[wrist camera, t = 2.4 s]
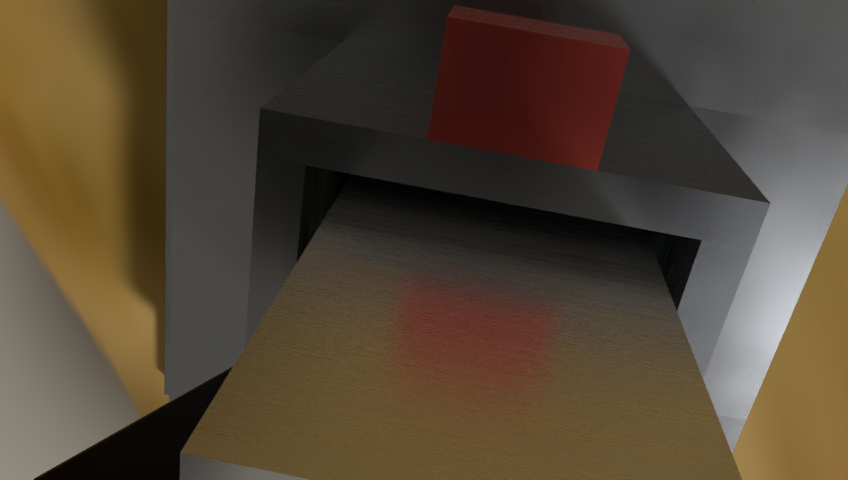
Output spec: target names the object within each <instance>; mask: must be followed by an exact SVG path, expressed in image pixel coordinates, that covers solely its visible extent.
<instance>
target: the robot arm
mask: <svg viewBox="0 0 848 480" xmlns="http://www.w3.org/2000/svg"><path fill="white" fill-rule="evenodd" d="M232 368H233V366H232V367H231V368H229V369H227V370H225V371H224V372H222V373H220V374H218V375H217V376H215V377H213V378H211V379H209V380H208V381H206V382H204V383H202V384H201V385H199V386H197V387H195V388H194V389H192V390H190V391H188V392H186V393H185V394H183V395H181V396H179V397H178V398H176V399H174V400H172V401H171V402H169V403H167V404H165V405H163V406H162V407H160V408H158V409H156V410H155V411H153V412H151V413H149V414H148V415H146V416H144V417H142V418H141V419H139V420H137V421H135V422H134V423H132V424H130V425H129V426H126V427H125V428H123V429H121V430H119V431H118V432H116V433H114V434H112V435H110V436H109V437H107V438H105V439H103V440H102V441H100V442H98V443H96V444H95V445H93V446H91V447H89V448H87V449H86V450H84V451H82V452H81V453H79V454H77V455H75V456H73V457H72V458H70V459H68V460H67V461H65V462H63V463H61V464H59V465H57V466H56V467H54V468H52V469H50V470H49V471H47V472H45V473H43V474H42V475H40V476H38V477H37V478H35V479H34V480H180V452H181V451H182V449H183V447H184V446H185V444H186V442H187V441H188V439H189V438H190V436H191V434H192V433H193V431H194V429H195V428H196V426H197V425H198V423H199V421H200V420H201V418H202V416H203V415H204V413H205V412H206V410H207V408H208V407H209V405H210V403H211V402H212V400H213V399H214V397H215V395H216V394H217V392H218V390H219V389H220V387H221V386H222V384H223V382H224V381H225V379H226V377H227V376H228V374H229V372H230V371H231V369H232Z"/></svg>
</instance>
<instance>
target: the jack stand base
mask: <svg viewBox="0 0 848 480" xmlns="http://www.w3.org/2000/svg"><path fill="white" fill-rule="evenodd" d="M351 174H354V175H359V176H365V177H370V178H375V179H381V180H386V181H391V182H396V183H402V184H407V185H412V186H418V187H423V188H428V189H434V190H439V191H444V192H449V193H455V194H460V195H465V196H471V197H476V198H481V199H486V200H492V201H497V202H502V203H508V204H513V205H518V206H524V207H529V208H534V209H539V210H545V211H550V212H555V213H561V214H566V215H571V216H576V217H582V218H587V219H592V220H598V221H603V222H608V223H613V224H619V225H624V226H629V227H635V228H640V229H645V230H646V233H647V235H648V238H649V240H650V243H651V246H652V248H653V251H654V253H655V256H656V259H657V261H658V264H659V266H660V269H661V271H662V274H663V277H664V279H665V282H666V284H667V287H668V290H669V292H670V295H671V297H672V300H673V302H674V305H675V308H676V310H677V313H678V315H679V318H680V321H681V323H682V326H683V328H684V331H685V333H686V336H687V339H688V341H689V344H690V346H691V349H692V352H693V354H694V357H695V359H696V362H697V364H698V367H699V370H700V372H701V375H702V377H703V380H704V383H705V385H706V388H707V390H708V393H709V395H710V398H711V401H712V403H713V406H714V408H715V411H716V414H717V416H718V419H719V421H720V424H721V426H722V429H723V432H724V434H725V437H726V439H727V442H728V445H729V447H730V450H731V452H733V450H734V447H735V445H736V443H737V440H738V438H739V436H740V433H741V431H742V429H743V426H744V424H745V422H746V419H747V417H748V415H749V412H750V410H751V408H752V405H753V403H754V401H755V398H756V396H757V394H758V391H759V389H760V387H761V384H762V382H763V380H764V377H765V375H766V373H767V370H768V368H769V366H770V363H771V361H772V359H773V356H774V354H775V352H776V349H777V347H778V345H779V342H780V340H781V338H782V335H783V333H784V331H785V328H786V326H787V324H788V321H789V319H790V317H791V314H792V312H793V310H794V307H795V305H796V303H797V300H798V298H799V296H800V293H801V291H802V289H803V287H804V284H805V282H806V280H807V277H808V275H809V273H810V270H811V268H812V266H813V263H814V261H815V259H816V256H817V254H818V252H819V249H820V247H821V245H822V242H823V240H824V238H825V235H826V233H827V231H828V228H829V226H830V224H831V221H832V219H833V217H834V214H835V212H836V210H837V207H838V205H839V203H840V200H841V198H842V196H843V193H844V191H845V189H846V186H847V184H848V0H167V88H166V240H165V393H164V394H167V395H170V402H171V401H172V400H174V399H176V398H178V397H179V396H181V395H183V394H185V393H186V392H188V391H190V390H192V389H194V388H195V387H197V386H199V385H201V384H202V383H204V382H206V381H208V380H209V379H211V378H213V377H215V376H217V375H218V374H220V373H222V372H224V371H225V370H227V369H229V368H231V367H232V366H234V364H235V363H236V361H237V359H238V358H239V356H240V355H241V353H242V351H243V350H244V348H245V346H246V345H247V343H248V342H249V340H250V338H251V337H252V335H253V333H254V332H255V330H256V329H257V327H258V325H259V324H260V322H261V320H262V319H263V317H264V316H265V314H266V312H267V311H268V309H269V307H270V306H271V304H272V302H273V301H274V299H275V298H276V296H277V294H278V293H279V291H280V289H281V288H282V286H283V285H284V283H285V281H286V280H287V278H288V276H289V275H290V273H291V272H292V270H293V268H294V267H295V265H296V263H297V262H298V260H299V259H300V257H301V255H302V254H303V252H304V250H305V249H306V247H307V246H308V244H309V242H310V241H311V239H312V237H313V236H314V234H315V233H316V231H317V229H318V228H319V226H320V224H321V223H322V221H323V219H324V218H325V216H326V215H327V213H328V211H329V210H330V208H331V206H332V205H333V203H334V202H335V200H336V198H337V197H338V195H339V193H340V192H341V190H342V189H343V187H344V185H345V184H346V182H347V180H348V179H349V177H350V176H351Z"/></svg>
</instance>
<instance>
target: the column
mask: <svg viewBox="0 0 848 480" xmlns="http://www.w3.org/2000/svg"><path fill="white" fill-rule="evenodd" d="M180 480H742V478H741V476H740V473H739V470H738V468H737V465H736V463H735V460H734V457H733V455H732V452H731V450H730V447H729V445H728V442H727V439H726V437H725V434H724V432H723V429H722V426H721V424H720V421H719V419H718V416H717V414H716V411H715V408H714V406H713V403H712V401H711V398H710V395H709V393H708V390H707V388H706V385H705V383H704V380H703V377H702V375H701V372H700V370H699V367H698V364H697V362H696V359H695V357H694V354H693V352H692V349H691V346H690V344H689V341H688V339H687V336H686V333H685V331H684V328H683V326H682V323H681V321H680V318H679V315H678V313H677V310H676V308H675V305H674V302H673V300H672V297H671V295H670V292H669V290H668V287H667V284H666V282H665V279H664V277H663V274H662V271H661V269H660V266H659V264H658V261H657V259H656V256H655V253H654V251H653V248H652V246H651V243H650V240H649V238H648V235H647V233H646V230H645V229H640V228H635V227H629V226H624V225H619V224H613V223H608V222H603V221H598V220H592V219H587V218H582V217H576V216H571V215H566V214H561V213H555V212H550V211H545V210H539V209H534V208H529V207H524V206H518V205H513V204H508V203H502V202H497V201H492V200H486V199H481V198H476V197H471V196H465V195H460V194H455V193H449V192H444V191H439V190H434V189H428V188H423V187H418V186H412V185H407V184H402V183H396V182H391V181H386V180H381V179H375V178H370V177H365V176H359V175H354V174H351V176H350V177H349V179H348V180H347V182H346V184H345V185H344V187H343V189H342V190H341V192H340V193H339V195H338V197H337V198H336V200H335V202H334V203H333V205H332V206H331V208H330V210H329V211H328V213H327V215H326V216H325V218H324V219H323V221H322V223H321V224H320V226H319V228H318V229H317V231H316V233H315V234H314V236H313V237H312V239H311V241H310V242H309V244H308V246H307V247H306V249H305V250H304V252H303V254H302V255H301V257H300V259H299V260H298V262H297V263H296V265H295V267H294V268H293V270H292V272H291V273H290V275H289V276H288V278H287V280H286V281H285V283H284V285H283V286H282V288H281V289H280V291H279V293H278V294H277V296H276V298H275V299H274V301H273V302H272V304H271V306H270V307H269V309H268V311H267V312H266V314H265V316H264V317H263V319H262V320H261V322H260V324H259V325H258V327H257V329H256V330H255V332H254V333H253V335H252V337H251V338H250V340H249V342H248V343H247V345H246V346H245V348H244V350H243V351H242V353H241V355H240V356H239V358H238V359H237V361H236V363H235V364H234V366H233V368H232V369H231V371H230V372H229V374H228V376H227V377H226V379H225V381H224V382H223V384H222V386H221V387H220V389H219V390H218V392H217V394H216V395H215V397H214V399H213V400H212V402H211V403H210V405H209V407H208V408H207V410H206V412H205V413H204V415H203V416H202V418H201V420H200V421H199V423H198V425H197V426H196V428H195V429H194V431H193V433H192V434H191V436H190V438H189V439H188V441H187V442H186V444H185V446H184V447H183V449H182V451H181V452H180Z"/></svg>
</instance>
